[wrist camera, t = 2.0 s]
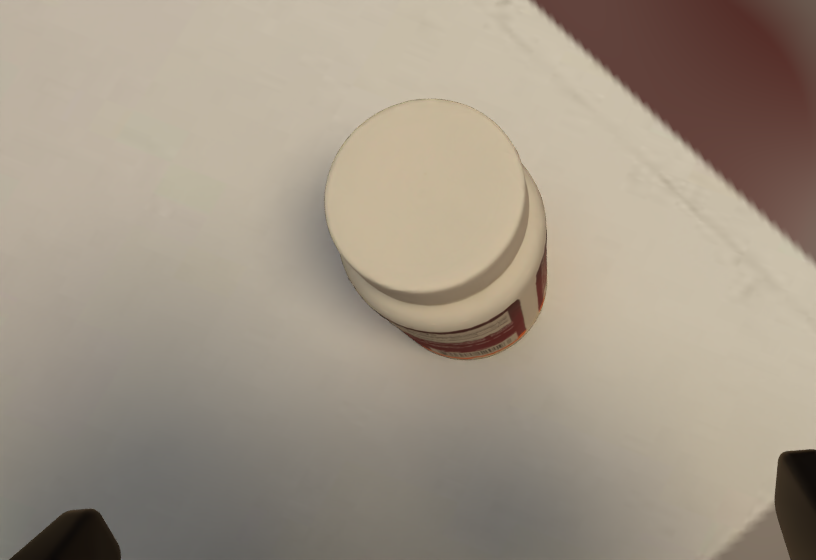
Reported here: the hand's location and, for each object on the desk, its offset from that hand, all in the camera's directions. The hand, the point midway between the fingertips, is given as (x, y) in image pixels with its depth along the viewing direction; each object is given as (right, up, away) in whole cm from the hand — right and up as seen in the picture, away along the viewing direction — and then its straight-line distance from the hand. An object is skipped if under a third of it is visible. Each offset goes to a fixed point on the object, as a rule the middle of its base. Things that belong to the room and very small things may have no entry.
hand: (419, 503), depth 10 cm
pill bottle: (+2, +3, +13) cm, 13 cm away
